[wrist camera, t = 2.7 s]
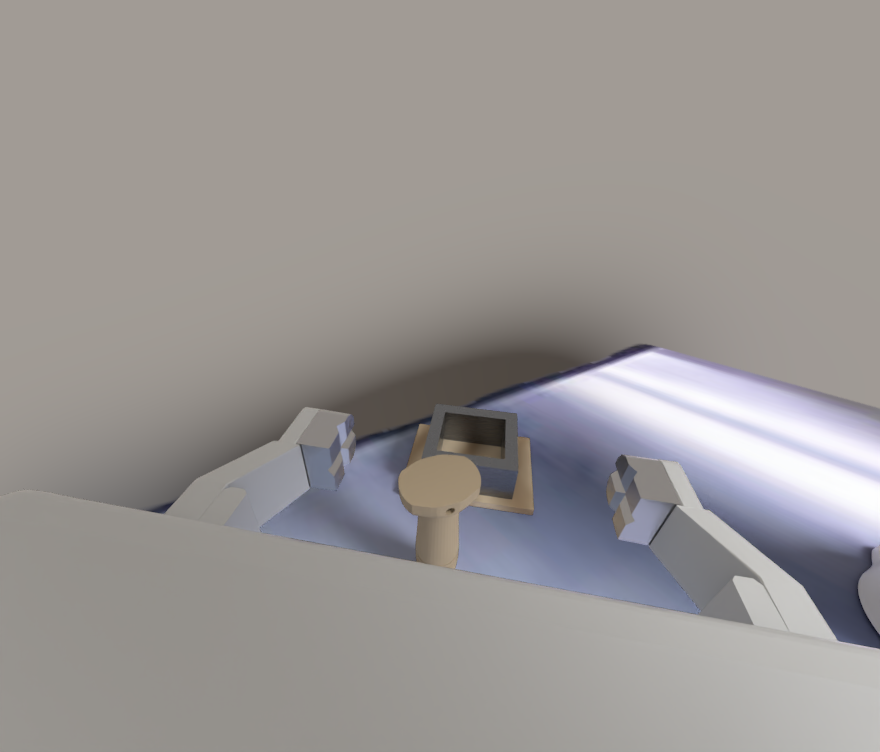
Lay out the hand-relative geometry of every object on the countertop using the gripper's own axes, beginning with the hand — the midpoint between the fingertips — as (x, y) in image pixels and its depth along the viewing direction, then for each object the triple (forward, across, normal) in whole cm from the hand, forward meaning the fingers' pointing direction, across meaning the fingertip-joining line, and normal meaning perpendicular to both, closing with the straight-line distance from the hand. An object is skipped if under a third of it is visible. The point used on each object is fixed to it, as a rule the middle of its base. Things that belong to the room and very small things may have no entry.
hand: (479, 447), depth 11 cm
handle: (+11, +2, +30) cm, 32 cm away
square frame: (+26, 0, +28) cm, 38 cm away
